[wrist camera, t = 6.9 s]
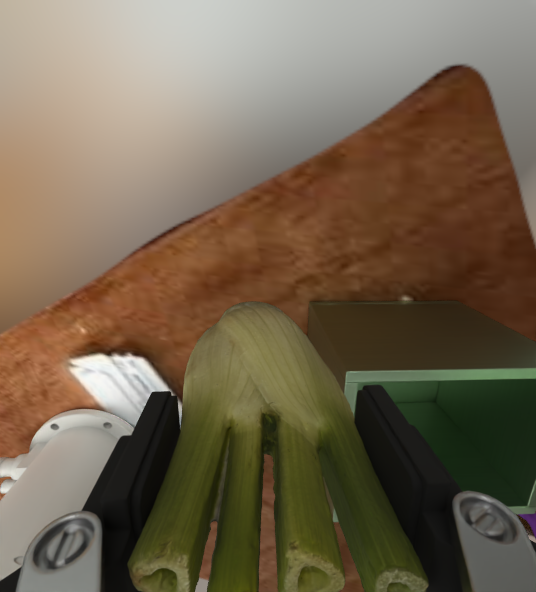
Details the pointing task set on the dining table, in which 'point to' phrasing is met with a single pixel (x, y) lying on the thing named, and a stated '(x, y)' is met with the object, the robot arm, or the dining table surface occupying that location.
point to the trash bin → (443, 385)
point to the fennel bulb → (287, 472)
